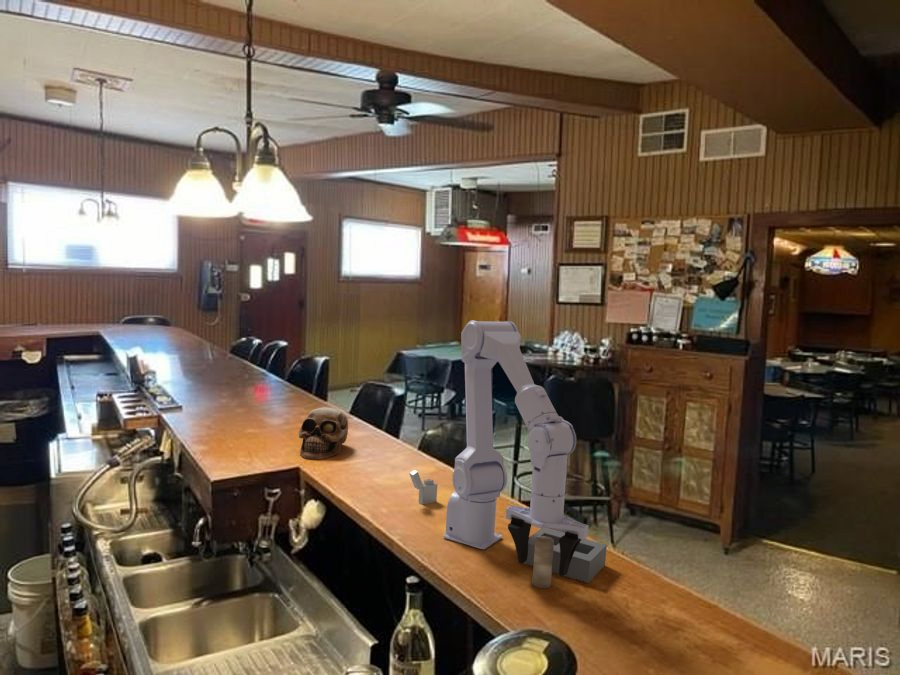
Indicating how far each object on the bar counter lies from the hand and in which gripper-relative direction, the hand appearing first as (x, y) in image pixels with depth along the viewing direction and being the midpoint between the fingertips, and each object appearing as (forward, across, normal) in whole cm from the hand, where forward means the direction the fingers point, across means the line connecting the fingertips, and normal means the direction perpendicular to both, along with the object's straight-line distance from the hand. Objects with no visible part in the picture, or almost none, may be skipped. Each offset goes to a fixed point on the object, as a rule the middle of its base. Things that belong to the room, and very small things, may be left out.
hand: (542, 567), depth 112 cm
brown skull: (+3, -85, +36) cm, 93 cm away
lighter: (+3, -38, +20) cm, 43 cm away
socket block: (+3, 0, +10) cm, 10 cm away
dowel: (+3, 0, 0) cm, 3 cm away
